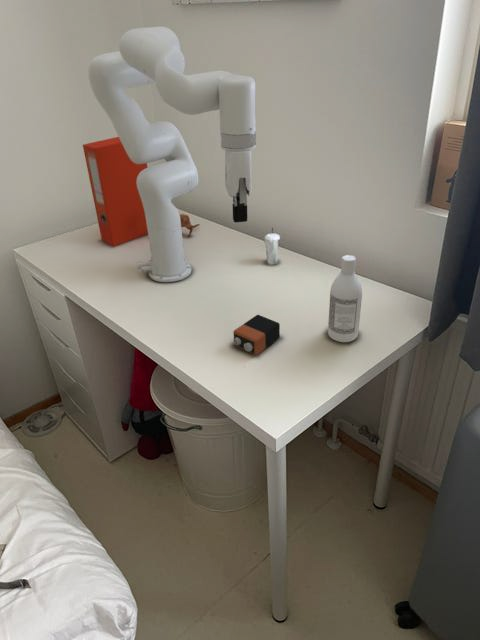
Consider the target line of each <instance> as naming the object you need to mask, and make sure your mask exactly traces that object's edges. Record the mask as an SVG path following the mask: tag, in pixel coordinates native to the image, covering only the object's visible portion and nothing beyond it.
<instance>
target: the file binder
mask: <svg viewBox="0 0 480 640" xmlns="http://www.w3.org/2000/svg"><path fill="white" fill-rule="evenodd" d="M82 148H83V153H84V159H85V163H86V168H87V174H88V178H89V183H90V188H91V193H92V198H93V203H94V209H95V214H96V218H97V224H98V227H99V228H98V229H99V233H100V238H101V241H102V242H104V243H106V244H108V245H110V246H112V247H117V246H118V245H122V244H124V243H127V242H131V241H132V240H135V239H138V238H141V237H144V236H147V235H148V230H147V224H146V217H145V212H144V207H143V204H142V200H141V197H140V195H139V192H138V189H137V184H136V181H137V177H138V175H139V173H140V172H141V171H142V170H144V169H146V168H148V167H149V166H148V163H145V164H135V163H134V162H132V161H131V159H130V158H129V156H128V155H127V153H126V151H125V149H124V147H123V145H122V142H121V140H120V138H119V136H116V137H112V138H107V139H102V140H97V141H93V142H88V143H83V144H82Z"/></svg>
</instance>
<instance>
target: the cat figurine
mask: <svg viewBox="0 0 480 640" xmlns="http://www.w3.org/2000/svg"><path fill="white" fill-rule="evenodd" d="M179 214H180V220H181V228H185V229H187V230H189V234H188V235H187V237H190V236H192V233H193V231H194V228H197V227H199V226H200V223H197V224H194V225H193V224H192V223H191V221H190V217H189V215H188V214H183V213H179Z"/></svg>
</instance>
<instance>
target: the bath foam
mask: <svg viewBox="0 0 480 640" xmlns="http://www.w3.org/2000/svg"><path fill="white" fill-rule="evenodd" d="M356 260H357V258H356V256H355V255H351V254H346V255H343V256H342V257H341V265H340V272H339V274H337V276H336V277H335V279H334V280H333V282H332V283H331V287H330V290H329V291H330V293H329V309H328V322H327V323H328V324H327V334H328V336H329V337H330V338H331V339H332V340H333V341H336V342H340V343H349V342H353V341H354V340H356V339H357V338H358V336H359V329H360V318H361V309H362V299H363V286H362V283H361V280H360V279H359V277H358V276H357V274H356V272H355V271H356V263H357V262H356Z"/></svg>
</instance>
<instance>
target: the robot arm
mask: <svg viewBox="0 0 480 640" xmlns="http://www.w3.org/2000/svg"><path fill="white" fill-rule="evenodd" d="M118 44H119V45H118V49H119V51H112V52H106V53H101V54H99V55H97V56H95V57H94V58H92V60H91V61H90V63H89V66H88V80H89V85H90V87H91V90H92V92H93V95H94V97H95V99H96V101H97V103H98V104H99V105H100V106H101V108H102V109H103V111H104V112H105V113H106V115H107V117H108V118H109V120H110V121H111V123H112V126H113V128H114V130H115V132H116V134H117V137H119V138H120V140H121V142H122V145H123V147H124V149H125V151H126V153H127V155H128V156H129V158H130V159H131V161H132V162H134V163H135V164H145V163H147V164H150V163H153V162H157V161H161V160H165V161H164V162H160V163H157V164H153V165H149V166H147V167H148V168H146V169H144V170H142V171H141V172H140V173H139V175H138V177H137V181H136V184H137V189H138V192H139V195H140V197H141V200H142V204H143V207H144V212H145V217H146V224H147V230H148V234H147V235H148V242H149V243H148V244H149V248H150V254H151V256H150V259H148V260H147V261H138V262H137V263H136V265H137V269H138V270H141V272H147V271H148V277H149V278H150V279H151V280H153V281H155V282H159V283H173V282H179V281H182V280H184V279H186V278H188V277H189V276H190V275H191V274H192V266H191V264H190V263H188V262H187V261H186V257H185V248H184V247H185V246H184V238H183V229H182V228H183V227H182V228H181V220H180V214H181V213H180V212H179V210H178V209H177V207H176V206H175V205H174V204H173V203H172V200H173V199H175V198H177V197H180V196H183V195H186V194H189V193H192V192H193V191H195V190H196V189H197V188H198V185H199V181H200V179H199V172H198V169H197V166H196V164H195V163H194V159H193V158H192V155H191V153H190V151H189V149H188V146H187V144H186V142H185V140H184V138H183V135H182V134H181V132H180V130H179V129H178V128H177V126H175V124H173V123H172V122H170V121H167V120H161V121H155V122H150V121H148V119H147V118H146V116H145V114H144V112H143V109H142V108H141V106H140V105H139V104H138V102H137V101H136V100H134V99H133V98H132V97H131V96H130V95H129V94H127V93H125V92H124V89H132V88H137V87H143V86H148V85H151V84H154V83H155V87H156V90H157V92H158V95H159V96H160V97H161V99H162V101H163V102H164V103H166V104H167V105H169V106H170V107H171V108H173V109H175V110H176V111H178V112H180V113H182V114H185V115H190V116H194V115H195V116H196V115H200V114H204V113H208V112H213V111H214V112H215V111H217V110H218V111H219V131H220V134H219V135H220V149H222V150H223V151H224V185H225V188H226V191H227V194H228V196H229V197H230V198H232V203H231V204H232V220H233V222H234V223H246V222H248V197H250V196H251V195H252V188H253V185H252V183H253V181H252V180H253V179H252V178H253V176H252V168H253V167H252V150H254V149H256V146H257V128H256V127H257V126H256V125H257V114H256V113H257V111H256V110H257V107H256V106H257V105H256V96H257V95H256V94H257V93H256V91H257V90H256V80H255V79H254V78H253V77H252V76H250V75H244V74H243V75H242V74H234V73H232V72H230V71H227V70H212V71H205V72H200V73H193V74H184V73H185V69H186V68H185V66H186V61H185V55H184V54H183V51H181V43H180V40H179V38H178V36H177V34H176V33H175V32H174V31H173V30H172V29H170V28H169V27H166V26H148V27H137V28H132V29H129V30H128V31H126V32H125V33H123V35H122V36H121V37H120V40H119V43H118Z"/></svg>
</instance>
